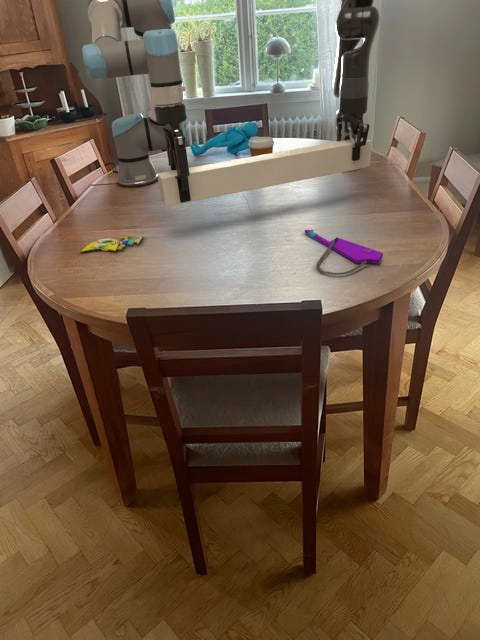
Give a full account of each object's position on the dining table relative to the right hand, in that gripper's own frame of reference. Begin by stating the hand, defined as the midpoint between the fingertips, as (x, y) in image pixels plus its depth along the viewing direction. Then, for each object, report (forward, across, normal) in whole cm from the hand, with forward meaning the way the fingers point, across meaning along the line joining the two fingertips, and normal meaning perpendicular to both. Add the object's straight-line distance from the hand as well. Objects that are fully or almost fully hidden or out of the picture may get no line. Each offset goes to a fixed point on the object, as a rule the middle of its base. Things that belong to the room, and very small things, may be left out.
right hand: (350, 157), depth 139 cm
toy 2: (+15, +80, +13) cm, 83 cm away
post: (+3, 0, +26) cm, 26 cm away
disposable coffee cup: (+15, +44, +10) cm, 48 cm away
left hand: (+2, 0, +51) cm, 51 cm away
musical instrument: (+13, -30, +22) cm, 40 cm away
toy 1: (+13, +5, +71) cm, 73 cm away
